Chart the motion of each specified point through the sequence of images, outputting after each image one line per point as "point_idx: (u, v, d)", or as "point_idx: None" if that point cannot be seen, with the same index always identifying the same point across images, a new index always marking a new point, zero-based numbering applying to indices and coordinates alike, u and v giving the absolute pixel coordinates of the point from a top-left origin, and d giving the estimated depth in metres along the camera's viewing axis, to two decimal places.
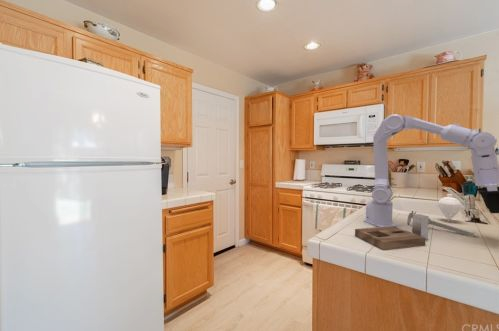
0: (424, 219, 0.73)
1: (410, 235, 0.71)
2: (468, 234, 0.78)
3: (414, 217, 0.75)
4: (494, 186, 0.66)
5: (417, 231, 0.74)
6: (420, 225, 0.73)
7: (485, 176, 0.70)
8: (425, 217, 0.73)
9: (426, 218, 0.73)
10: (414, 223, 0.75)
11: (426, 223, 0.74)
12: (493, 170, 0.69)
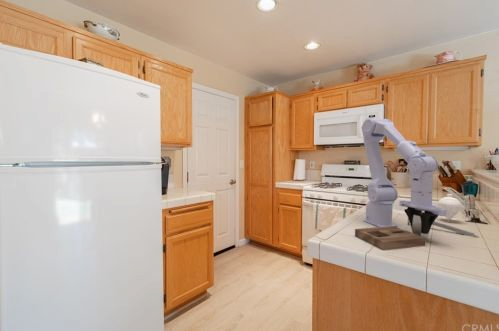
0: None
1: (410, 235, 0.71)
2: (468, 234, 0.78)
3: (414, 217, 0.75)
4: None
5: (417, 231, 0.74)
6: (420, 225, 0.73)
7: None
8: None
9: None
10: (414, 223, 0.75)
11: None
12: None
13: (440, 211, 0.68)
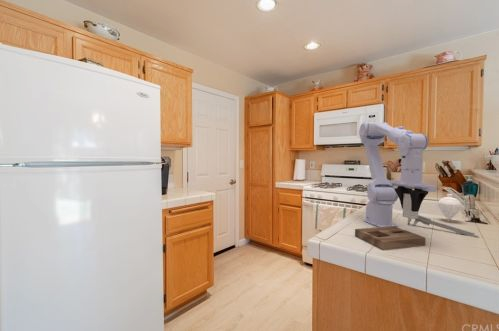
0: None
1: (410, 235, 0.71)
2: (468, 234, 0.78)
3: (404, 196, 0.75)
4: None
5: (408, 210, 0.73)
6: (410, 203, 0.73)
7: None
8: None
9: None
10: (404, 202, 0.75)
11: None
12: None
13: (429, 187, 0.67)
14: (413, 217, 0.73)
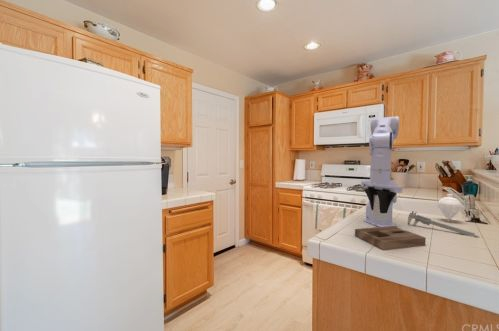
0: None
1: (410, 235, 0.71)
2: (469, 234, 0.78)
3: (374, 197, 0.72)
4: None
5: (377, 211, 0.71)
6: None
7: None
8: None
9: None
10: (374, 203, 0.72)
11: None
12: None
13: (396, 188, 0.65)
14: (382, 219, 0.71)
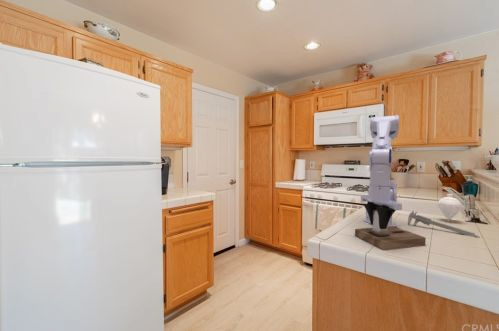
0: None
1: (410, 235, 0.71)
2: (469, 234, 0.78)
3: (374, 212, 0.73)
4: None
5: (376, 227, 0.71)
6: None
7: None
8: None
9: None
10: (374, 218, 0.73)
11: None
12: None
13: (395, 205, 0.65)
14: (382, 235, 0.71)
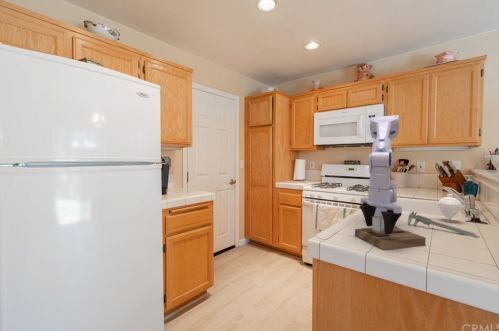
0: (383, 221, 0.71)
1: (410, 235, 0.71)
2: (469, 234, 0.78)
3: (373, 219, 0.73)
4: None
5: (376, 234, 0.72)
6: (379, 227, 0.71)
7: None
8: None
9: None
10: (373, 225, 0.73)
11: None
12: None
13: (395, 208, 0.65)
14: None
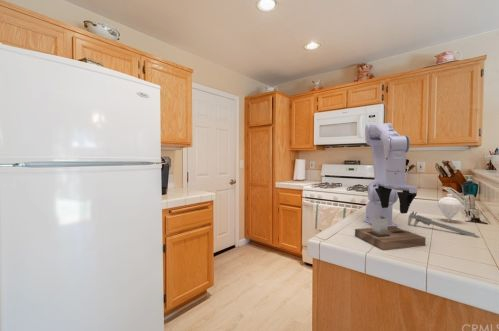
0: (383, 221, 0.71)
1: (410, 235, 0.71)
2: (469, 234, 0.78)
3: (374, 219, 0.73)
4: None
5: (376, 234, 0.72)
6: (379, 227, 0.71)
7: None
8: (384, 219, 0.71)
9: (385, 220, 0.71)
10: (374, 225, 0.73)
11: (385, 225, 0.71)
12: None
13: (410, 188, 0.69)
14: None
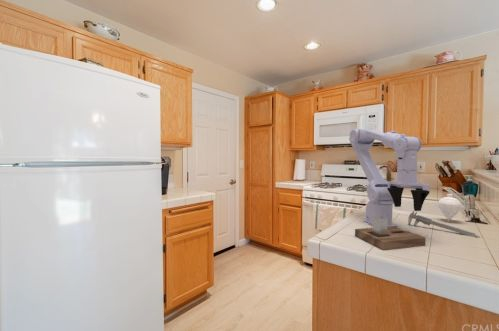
0: (383, 221, 0.71)
1: (410, 235, 0.71)
2: (469, 234, 0.78)
3: (374, 219, 0.73)
4: None
5: (376, 234, 0.72)
6: (379, 227, 0.71)
7: None
8: (384, 219, 0.71)
9: (385, 220, 0.71)
10: (374, 225, 0.73)
11: (385, 225, 0.71)
12: None
13: (424, 186, 0.71)
14: None
